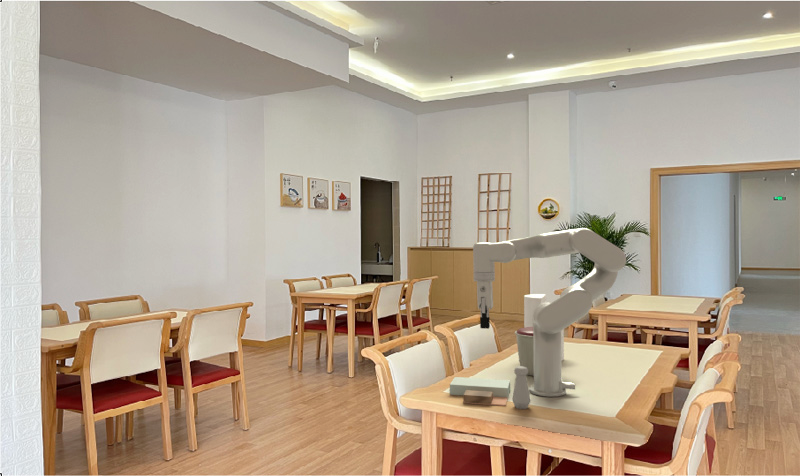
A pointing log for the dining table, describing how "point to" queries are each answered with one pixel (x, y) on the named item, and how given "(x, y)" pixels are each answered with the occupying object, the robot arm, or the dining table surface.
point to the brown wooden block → (478, 397)
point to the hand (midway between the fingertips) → (485, 328)
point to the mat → (495, 401)
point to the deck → (480, 386)
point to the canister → (526, 348)
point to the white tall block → (529, 306)
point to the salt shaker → (521, 388)
